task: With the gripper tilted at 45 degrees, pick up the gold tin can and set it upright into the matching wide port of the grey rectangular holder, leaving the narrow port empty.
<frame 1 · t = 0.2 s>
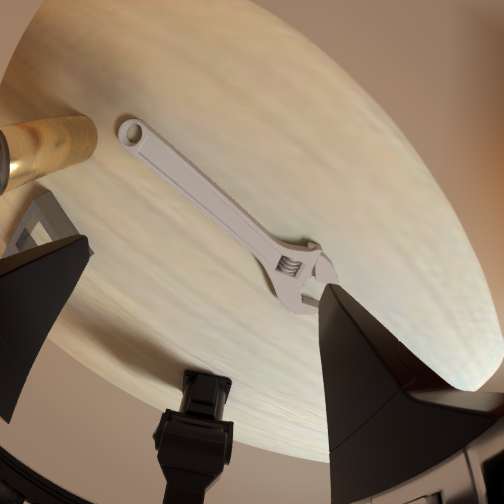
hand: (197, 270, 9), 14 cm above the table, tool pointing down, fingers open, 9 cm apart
grey rectangular holder: (54, 241, 25), on the table
gold tin can: (78, 139, 20), on the table
adjustable wrench: (239, 209, 24), on the table
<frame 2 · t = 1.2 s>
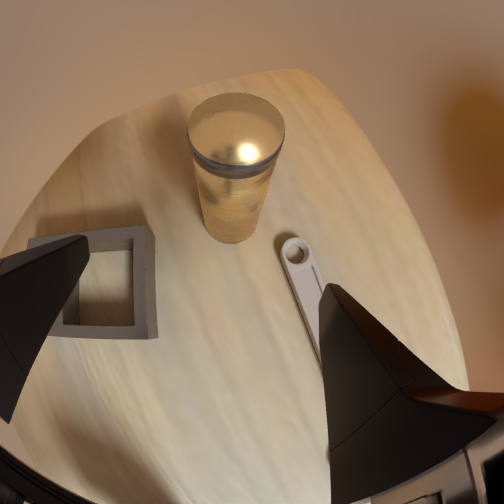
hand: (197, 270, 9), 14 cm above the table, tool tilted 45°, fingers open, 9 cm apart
grey rectangular holder: (109, 288, 21), on the table
gold tin can: (230, 218, 24), on the table
adjustable wrench: (341, 371, 22), on the table
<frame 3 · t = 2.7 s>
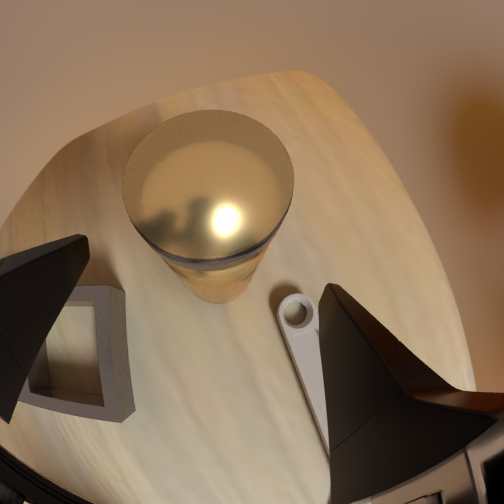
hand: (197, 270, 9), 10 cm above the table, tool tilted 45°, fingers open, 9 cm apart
grey rectangular holder: (77, 350, 16), on the table
gold tin can: (217, 269, 19), on the table
adjustable wrench: (344, 439, 17), on the table
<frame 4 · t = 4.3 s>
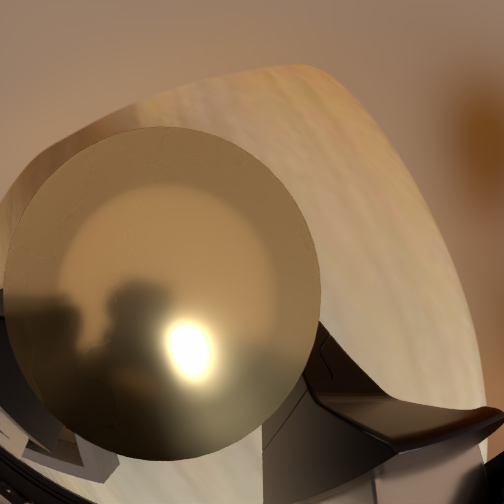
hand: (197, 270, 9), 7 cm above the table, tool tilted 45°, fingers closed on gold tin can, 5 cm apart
grey rectangular holder: (53, 398, 12), on the table
gold tin can: (204, 316, 15), on the table, touching gripper
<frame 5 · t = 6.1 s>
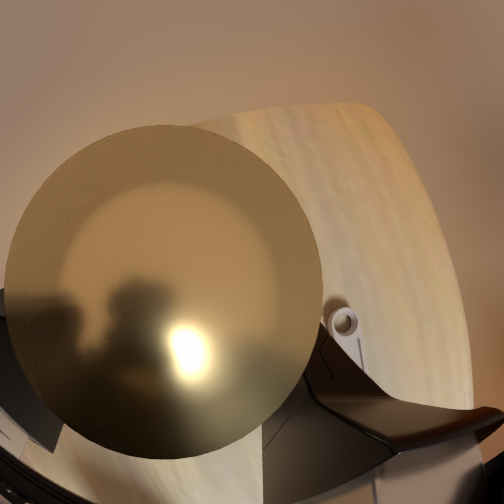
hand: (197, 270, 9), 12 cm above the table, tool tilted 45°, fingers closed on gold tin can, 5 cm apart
gold tin can: (205, 316, 15), point 6 cm above the table, touching gripper
adjustable wrench: (363, 433, 19), on the table
when the fingers open (8 cm above the table, at t = 8.0 s): gold tin can drops 2 cm, resting in grey rectangular holder.
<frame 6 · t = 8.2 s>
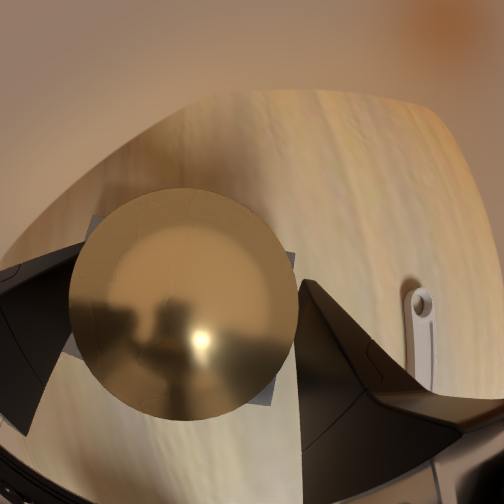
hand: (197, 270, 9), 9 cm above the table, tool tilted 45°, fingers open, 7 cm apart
grey rectangular holder: (207, 317, 17), on the table
gold tin can: (206, 319, 17), resting in grey rectangular holder
adjustable wrench: (416, 430, 16), on the table
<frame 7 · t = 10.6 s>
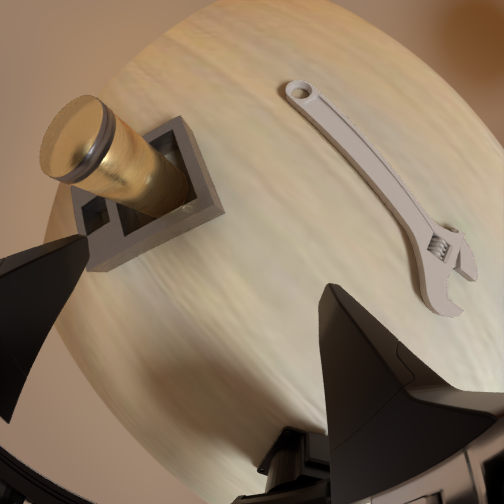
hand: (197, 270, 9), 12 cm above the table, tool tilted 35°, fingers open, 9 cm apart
grey rectangular holder: (163, 190, 23), on the table
gold tin can: (163, 192, 23), resting in grey rectangular holder
adjustable wrench: (390, 186, 21), on the table
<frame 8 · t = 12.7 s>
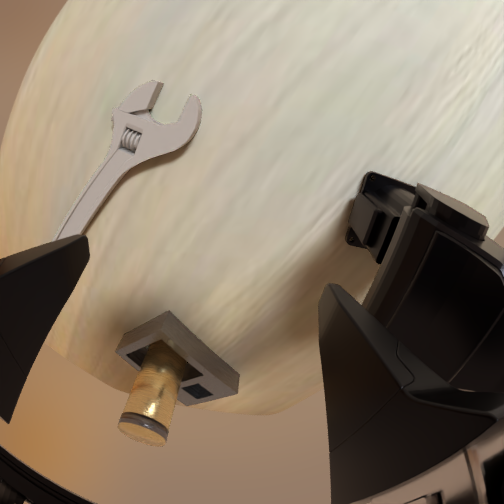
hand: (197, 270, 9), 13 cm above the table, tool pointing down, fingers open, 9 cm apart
grey rectangular holder: (169, 347, 30), on the table
gold tin can: (170, 346, 30), resting in grey rectangular holder
adjustable wrench: (96, 185, 22), on the table
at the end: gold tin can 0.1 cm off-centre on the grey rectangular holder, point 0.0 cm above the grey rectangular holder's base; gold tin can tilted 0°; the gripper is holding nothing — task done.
